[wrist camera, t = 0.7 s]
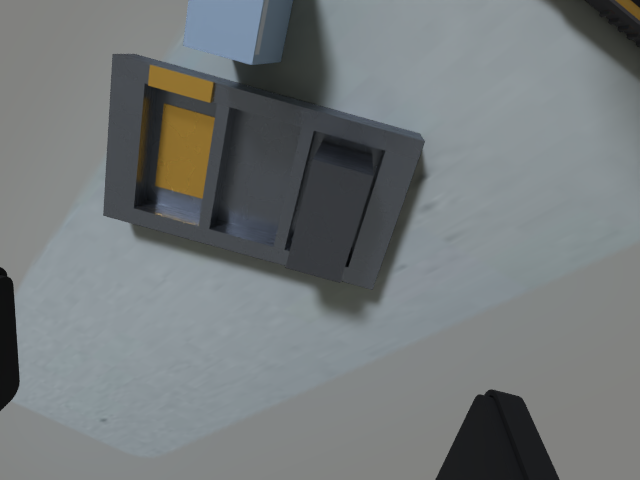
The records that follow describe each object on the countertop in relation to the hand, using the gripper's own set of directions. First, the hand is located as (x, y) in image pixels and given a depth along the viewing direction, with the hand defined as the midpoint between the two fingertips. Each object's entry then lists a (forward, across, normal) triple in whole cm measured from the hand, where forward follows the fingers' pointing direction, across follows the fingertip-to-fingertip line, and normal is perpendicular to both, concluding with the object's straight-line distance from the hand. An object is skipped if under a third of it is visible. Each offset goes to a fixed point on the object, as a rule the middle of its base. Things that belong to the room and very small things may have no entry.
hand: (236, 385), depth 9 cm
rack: (+24, +4, +3) cm, 25 cm away
